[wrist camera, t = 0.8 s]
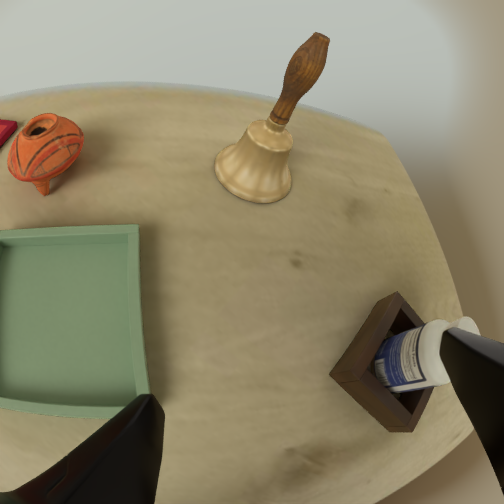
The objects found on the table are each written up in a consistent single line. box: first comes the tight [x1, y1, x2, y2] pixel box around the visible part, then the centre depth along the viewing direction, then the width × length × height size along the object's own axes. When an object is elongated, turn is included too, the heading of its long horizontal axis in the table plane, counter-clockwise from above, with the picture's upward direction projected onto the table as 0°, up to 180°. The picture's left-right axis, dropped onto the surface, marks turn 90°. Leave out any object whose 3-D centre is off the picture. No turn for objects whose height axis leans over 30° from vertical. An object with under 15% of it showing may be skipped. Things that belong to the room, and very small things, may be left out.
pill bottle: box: [367, 317, 480, 394], centre depth 19 cm, size 5×5×10 cm
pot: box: [8, 113, 84, 196], centre depth 19 cm, size 8×8×7 cm
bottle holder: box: [329, 291, 434, 432], centre depth 21 cm, size 9×9×3 cm
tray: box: [0, 224, 151, 419], centre depth 15 cm, size 14×14×2 cm
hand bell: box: [214, 32, 330, 203], centre depth 22 cm, size 8×8×16 cm
